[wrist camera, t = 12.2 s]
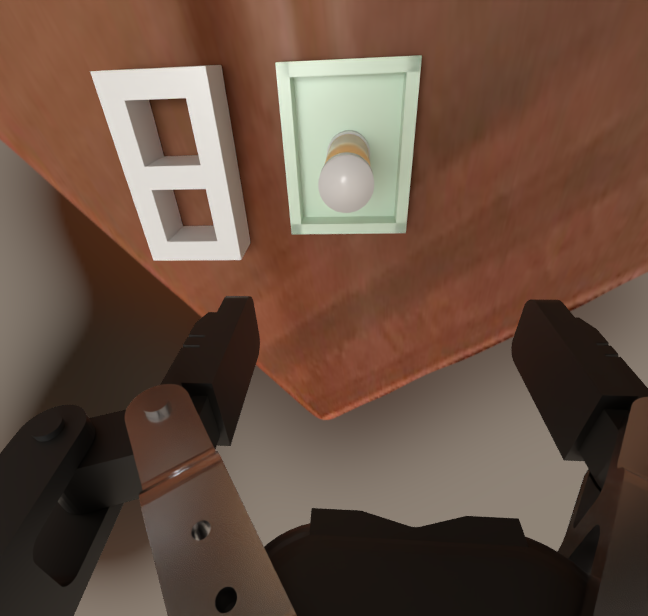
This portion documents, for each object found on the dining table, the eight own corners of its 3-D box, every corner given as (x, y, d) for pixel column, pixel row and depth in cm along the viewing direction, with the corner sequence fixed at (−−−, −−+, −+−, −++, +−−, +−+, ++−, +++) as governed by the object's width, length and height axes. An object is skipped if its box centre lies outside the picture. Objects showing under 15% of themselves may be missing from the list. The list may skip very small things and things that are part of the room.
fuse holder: (117, 69, 31) (90, 71, 28) (221, 64, 31) (205, 66, 27) (170, 243, 40) (153, 260, 37) (250, 242, 40) (241, 260, 36)
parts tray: (280, 62, 30) (275, 62, 28) (417, 55, 29) (421, 55, 27) (295, 224, 38) (291, 234, 36) (402, 223, 37) (405, 233, 35)
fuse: (326, 130, 32) (316, 157, 24) (370, 129, 32) (375, 155, 24) (328, 175, 34) (319, 213, 26) (369, 174, 34) (373, 212, 26)
